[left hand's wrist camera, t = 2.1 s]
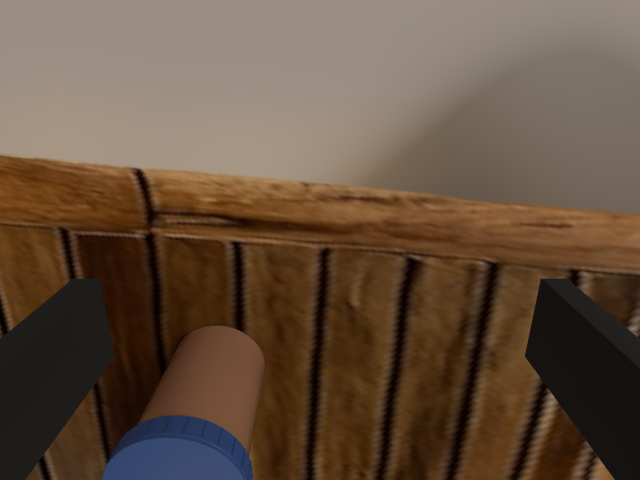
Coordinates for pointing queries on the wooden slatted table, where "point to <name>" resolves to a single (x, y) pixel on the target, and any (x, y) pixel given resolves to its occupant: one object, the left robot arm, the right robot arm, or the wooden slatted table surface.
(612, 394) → the left robot arm
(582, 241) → the wooden slatted table surface
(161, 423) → the lid
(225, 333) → the jar
